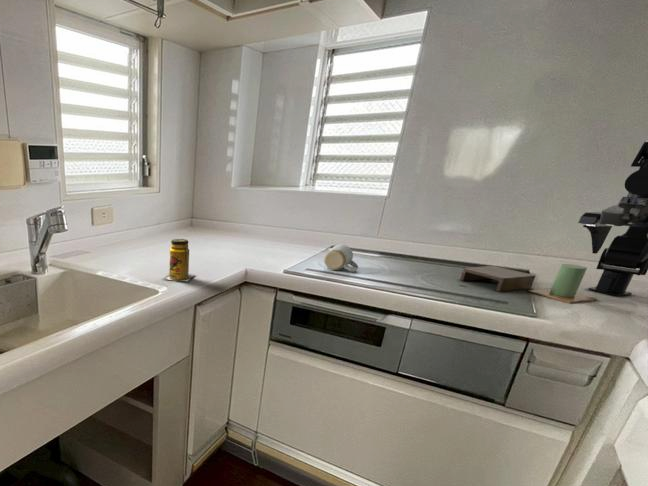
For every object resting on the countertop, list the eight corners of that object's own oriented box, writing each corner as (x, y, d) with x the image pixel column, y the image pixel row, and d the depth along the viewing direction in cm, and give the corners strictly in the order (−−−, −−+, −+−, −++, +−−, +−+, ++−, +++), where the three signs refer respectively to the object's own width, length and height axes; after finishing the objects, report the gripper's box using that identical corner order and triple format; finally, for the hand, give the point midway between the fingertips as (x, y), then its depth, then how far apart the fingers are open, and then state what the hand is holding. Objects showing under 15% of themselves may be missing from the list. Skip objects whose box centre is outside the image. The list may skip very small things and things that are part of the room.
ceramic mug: (320, 268, 138) (325, 246, 134) (327, 264, 143) (332, 242, 140) (354, 274, 132) (359, 251, 128) (359, 269, 137) (365, 247, 134)
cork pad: (553, 289, 117) (554, 287, 117) (596, 300, 108) (597, 298, 108) (527, 291, 115) (528, 290, 114) (569, 303, 106) (570, 301, 105)
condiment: (164, 279, 125) (165, 241, 120) (173, 273, 132) (174, 236, 128) (187, 282, 123) (188, 242, 118) (194, 275, 130) (196, 238, 125)
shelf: (489, 277, 128) (493, 265, 126) (530, 288, 117) (535, 275, 116) (459, 280, 125) (463, 267, 124) (499, 291, 114) (504, 278, 113)
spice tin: (558, 291, 114) (569, 263, 111) (579, 296, 109) (592, 267, 106) (545, 292, 113) (556, 264, 110) (566, 298, 108) (578, 269, 105)
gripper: (574, 190, 103) (551, 251, 109) (677, 197, 86) (642, 268, 92) (607, 189, 105) (582, 249, 111) (713, 196, 88) (676, 265, 94)
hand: (616, 257), depth 102 cm, fingers open, 9 cm apart
